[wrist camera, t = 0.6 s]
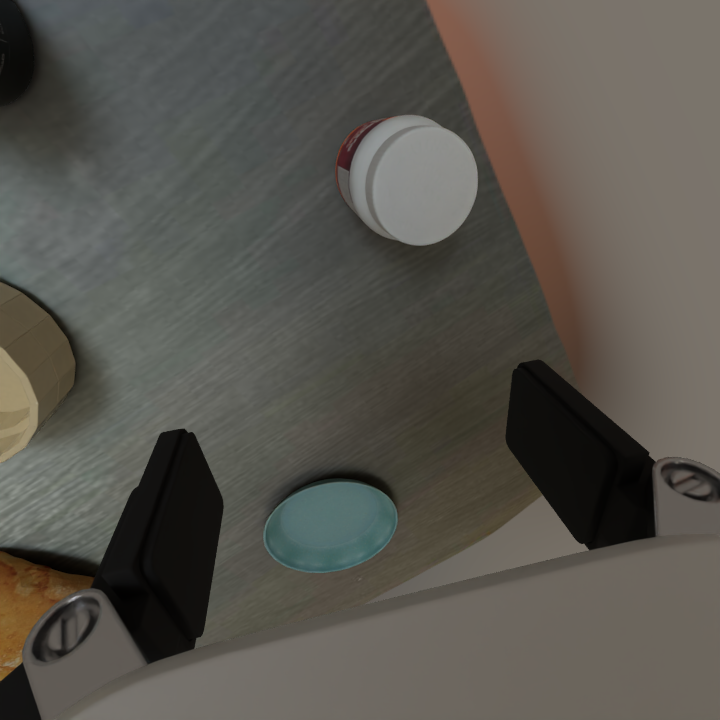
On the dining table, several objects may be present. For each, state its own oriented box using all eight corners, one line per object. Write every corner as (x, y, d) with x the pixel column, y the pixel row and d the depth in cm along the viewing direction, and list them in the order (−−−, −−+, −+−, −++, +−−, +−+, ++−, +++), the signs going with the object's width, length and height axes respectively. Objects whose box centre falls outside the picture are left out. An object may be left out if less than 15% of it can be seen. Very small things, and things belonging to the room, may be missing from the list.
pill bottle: (399, 102, 26) (469, 80, 16) (429, 192, 29) (504, 219, 19) (317, 148, 26) (337, 153, 16) (356, 231, 29) (392, 277, 20)
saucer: (409, 521, 48) (415, 540, 45) (302, 567, 48) (303, 588, 46) (363, 444, 40) (368, 462, 38) (237, 500, 41) (235, 521, 39)
